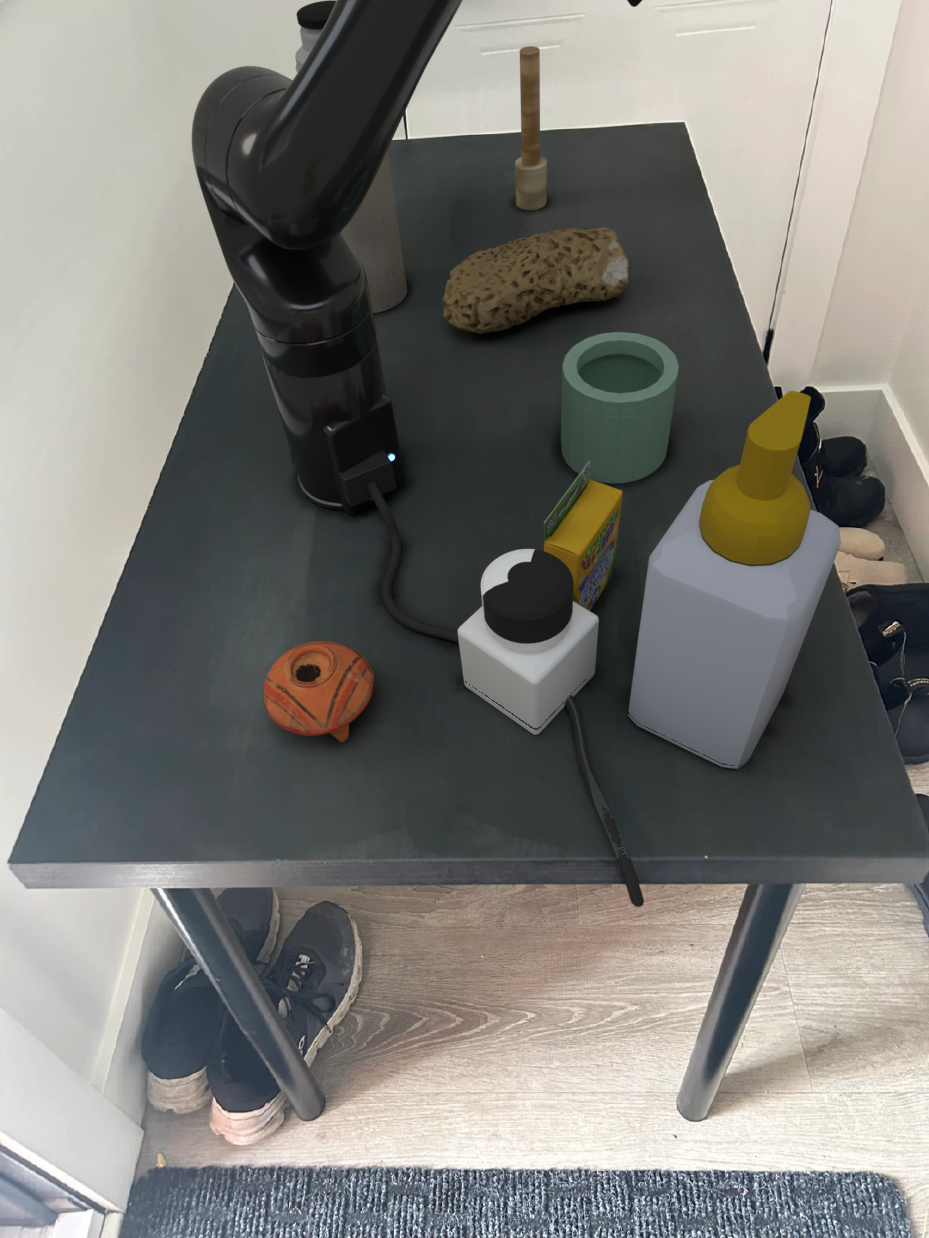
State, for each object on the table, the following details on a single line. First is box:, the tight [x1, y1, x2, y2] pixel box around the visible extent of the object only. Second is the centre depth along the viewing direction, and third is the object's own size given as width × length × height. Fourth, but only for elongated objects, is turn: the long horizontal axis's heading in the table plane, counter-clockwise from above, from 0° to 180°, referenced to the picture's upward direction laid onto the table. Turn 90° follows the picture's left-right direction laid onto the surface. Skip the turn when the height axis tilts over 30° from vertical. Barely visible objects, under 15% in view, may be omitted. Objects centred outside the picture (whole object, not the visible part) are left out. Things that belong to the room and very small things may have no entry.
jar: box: [560, 331, 680, 484], centre depth 78 cm, size 10×10×9 cm
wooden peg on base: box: [514, 45, 548, 211], centre depth 103 cm, size 4×4×17 cm
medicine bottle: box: [457, 548, 600, 736], centre depth 62 cm, size 7×7×12 cm
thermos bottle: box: [294, 0, 408, 314], centre depth 89 cm, size 8×8×28 cm
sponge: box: [441, 226, 630, 335], centre depth 93 cm, size 13×8×20 cm
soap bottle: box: [627, 390, 842, 770], centre depth 54 cm, size 9×9×25 cm
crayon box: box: [543, 460, 624, 612], centre depth 66 cm, size 7×3×12 cm, turn 149°
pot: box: [262, 640, 375, 743], centre depth 64 cm, size 8×8×7 cm
